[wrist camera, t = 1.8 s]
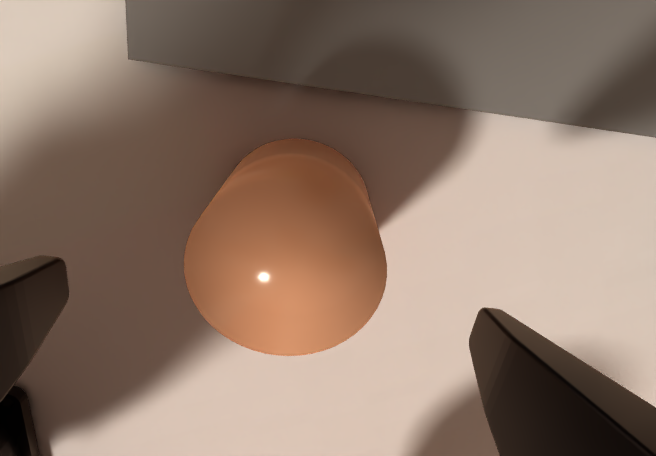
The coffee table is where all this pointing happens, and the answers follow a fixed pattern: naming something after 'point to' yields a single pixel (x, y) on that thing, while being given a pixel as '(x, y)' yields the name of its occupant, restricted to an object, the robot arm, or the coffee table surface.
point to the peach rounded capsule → (288, 251)
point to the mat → (426, 51)
